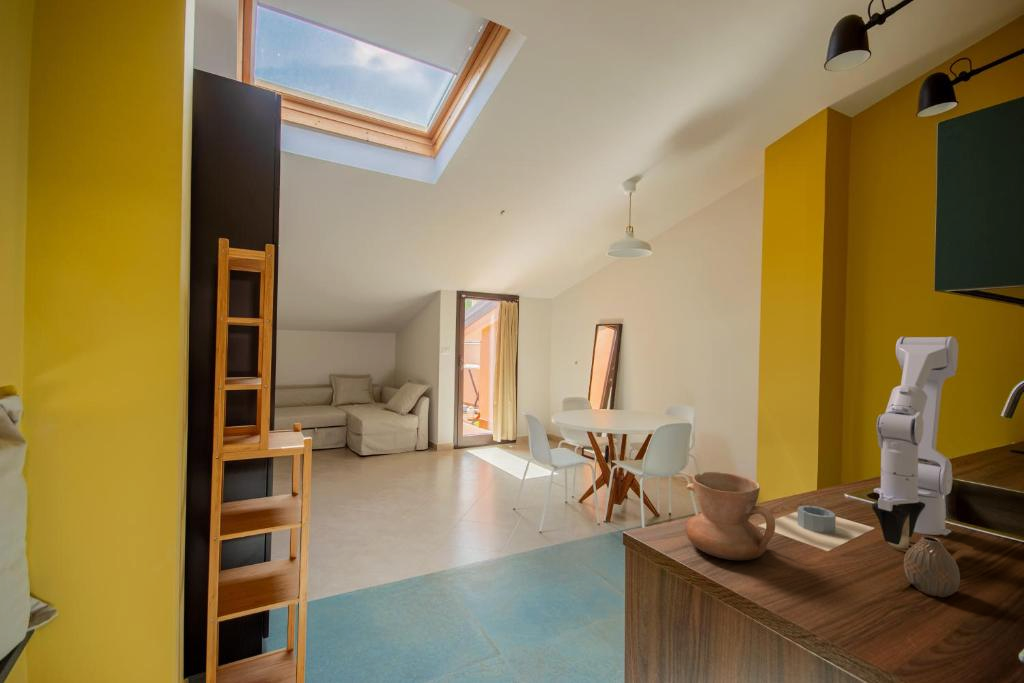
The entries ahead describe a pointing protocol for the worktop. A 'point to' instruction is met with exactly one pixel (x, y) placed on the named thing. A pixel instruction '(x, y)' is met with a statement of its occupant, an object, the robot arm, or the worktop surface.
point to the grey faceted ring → (816, 519)
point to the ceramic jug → (728, 517)
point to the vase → (931, 568)
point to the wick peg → (903, 536)
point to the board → (825, 541)
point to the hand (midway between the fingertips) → (898, 538)
